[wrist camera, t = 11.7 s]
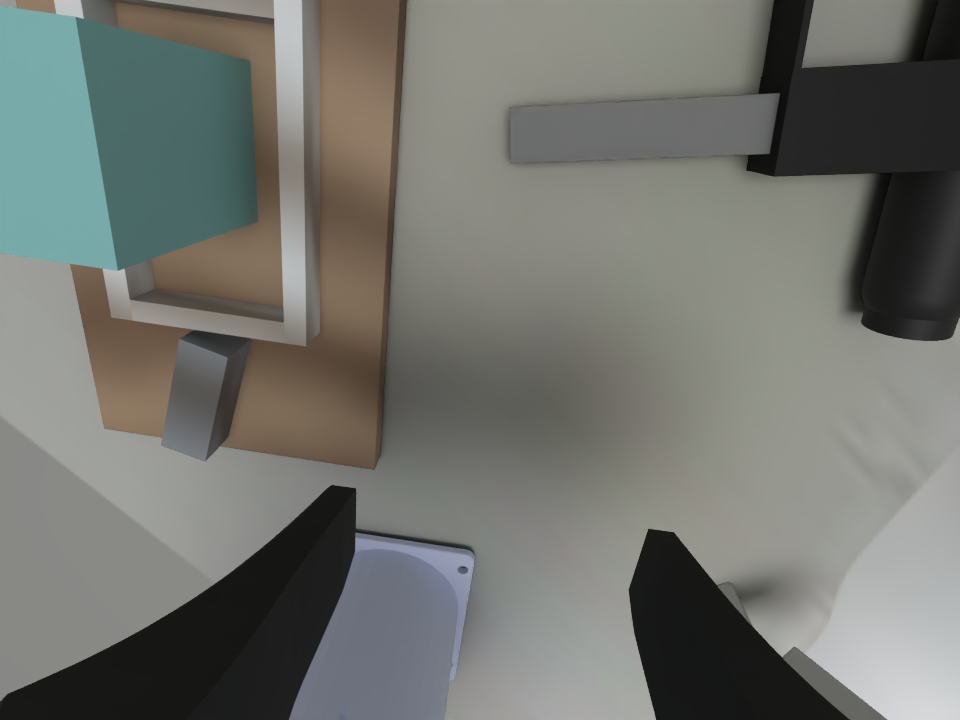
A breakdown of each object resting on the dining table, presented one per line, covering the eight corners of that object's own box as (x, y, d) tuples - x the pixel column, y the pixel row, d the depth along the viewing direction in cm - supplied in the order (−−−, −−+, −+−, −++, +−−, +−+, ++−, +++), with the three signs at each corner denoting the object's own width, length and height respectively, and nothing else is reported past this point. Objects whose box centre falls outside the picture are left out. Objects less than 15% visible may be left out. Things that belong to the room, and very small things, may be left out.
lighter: (662, 628, 27) (716, 817, 19) (649, 606, 26) (699, 792, 19) (804, 586, 25) (922, 777, 17) (793, 561, 24) (911, 748, 17)
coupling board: (379, 456, 23) (362, 496, 21) (120, 417, 23) (71, 452, 21) (421, -251, 14) (398, -337, 11) (-18, -310, 14) (-139, -409, 11)
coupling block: (250, 60, 16) (75, 16, 10) (258, 221, 18) (117, 270, 12) (163, 48, 16) (-68, -4, 10) (180, 209, 18) (-1, 252, 12)
